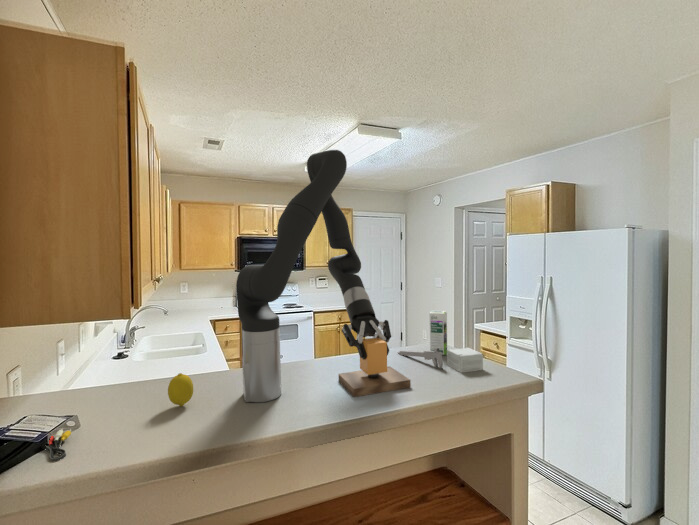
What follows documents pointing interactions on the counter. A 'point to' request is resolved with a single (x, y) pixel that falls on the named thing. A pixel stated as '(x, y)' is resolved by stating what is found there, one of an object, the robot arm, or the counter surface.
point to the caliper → (427, 356)
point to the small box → (465, 359)
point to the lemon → (180, 389)
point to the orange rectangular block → (374, 356)
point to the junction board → (373, 382)
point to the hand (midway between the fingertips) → (375, 356)
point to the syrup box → (438, 331)
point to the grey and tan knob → (373, 376)
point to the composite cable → (57, 444)
